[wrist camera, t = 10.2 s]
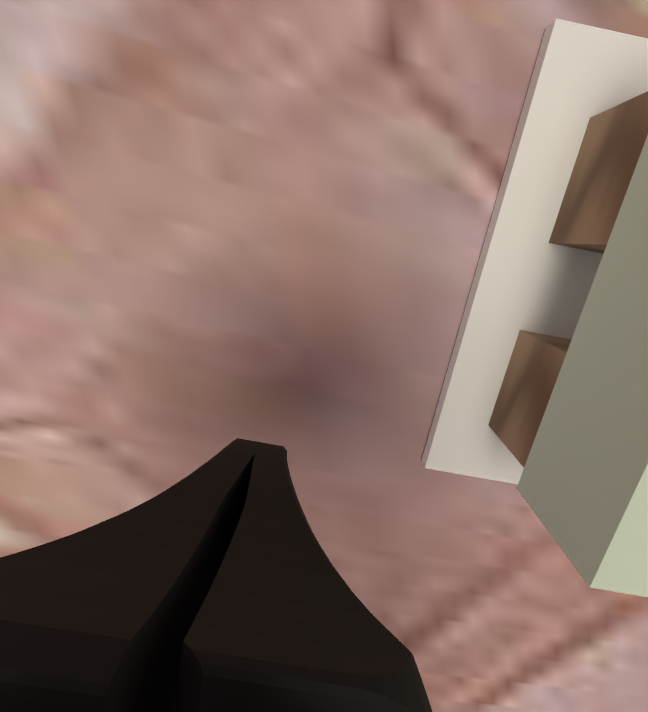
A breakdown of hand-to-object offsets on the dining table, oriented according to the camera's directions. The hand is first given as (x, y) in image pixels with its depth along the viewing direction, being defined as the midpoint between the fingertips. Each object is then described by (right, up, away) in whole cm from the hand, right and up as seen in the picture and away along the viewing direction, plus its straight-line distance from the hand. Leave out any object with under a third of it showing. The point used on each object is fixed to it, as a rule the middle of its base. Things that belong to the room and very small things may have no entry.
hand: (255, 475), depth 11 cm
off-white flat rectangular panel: (+14, +6, +9) cm, 17 cm away
